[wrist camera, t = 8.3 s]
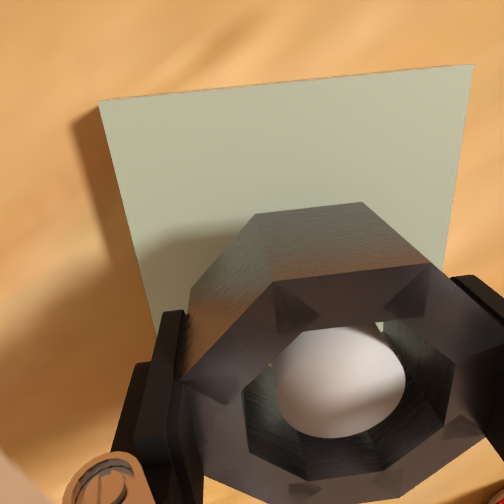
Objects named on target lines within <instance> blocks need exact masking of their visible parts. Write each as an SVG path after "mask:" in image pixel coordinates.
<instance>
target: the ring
mask: <svg viewBox="0 0 504 504" xmlns="http://www.w3.org/2000/svg"><path fill="white" fill-rule="evenodd" d="M377 322H383V331H382V332H381V333H382V335H383V336H384V338H385V339H386V341H387V343H388V344H389V346H390V347H391V349H392V351H393V352H394V354H395V355H396V357H397V358H398V360H399V362H400V363H401V365H402V367H403V370H404V373H405V379H406V380H405V389H404V393H403V396H402V398H401V400H400V402H399V404H398V405H397V406H396V408H395V409H394V410H393V411H392V412H391V413H390V415H388V416H387V417H386V418H385V419H384V420H383V421H381V422H380V423H378V424H377V425H375V426H373V427H372V428H370V429H368V430H365V431H363V432H360V433H358V434H354V435H351V436H346V437H340V438H320V437H314V436H310V435H307V434H304V433H302V432H300V431H298V430H296V429H295V428H293V427H292V426H291V425H290V424H288V422H287V421H286V420H285V419H284V417H283V416H282V414H281V411H280V409H279V404H278V399H277V393H276V388H275V382H274V377H273V371H272V368H271V367H270V366H268V365H269V364H270V363H271V362H272V361H273V360H274V359H275V358H276V357H277V356H278V355H279V354H280V353H281V352H282V351H283V350H284V349H285V348H286V347H287V346H288V345H289V344H291V343H292V342H293V341H294V340H295V339H296V338H297V337H298V336H299V335H300V334H301V333H302V332H305V331H313V330H321V329H329V328H337V327H345V326H353V325H361V324H369V323H377ZM503 372H504V327H503V326H502V325H501V324H499V323H498V322H497V321H496V320H495V319H494V318H493V317H492V316H490V315H489V314H488V313H487V312H486V311H485V310H484V309H483V308H482V307H480V306H479V305H478V304H477V303H476V302H475V301H474V300H473V299H472V298H470V297H469V296H468V295H467V294H466V293H465V292H464V291H463V290H462V289H460V288H459V287H458V286H457V285H456V284H455V283H454V282H453V281H452V280H450V279H449V278H448V277H447V276H446V275H445V274H444V273H443V272H441V271H440V270H439V269H438V268H437V267H436V266H435V265H434V264H433V263H431V262H430V261H429V260H428V259H427V258H426V257H425V256H424V255H422V254H421V253H420V252H419V251H418V250H417V249H416V248H414V247H413V246H412V245H411V244H410V243H409V242H408V241H406V240H405V239H404V238H403V237H402V236H401V235H400V234H399V233H397V232H396V231H395V230H394V229H393V228H392V227H391V226H389V225H388V224H387V223H386V222H385V221H384V220H383V219H381V218H380V217H379V216H378V215H377V214H376V213H375V212H373V211H372V210H371V209H370V208H369V207H368V206H367V205H365V204H364V203H363V202H355V203H346V204H337V205H328V206H320V207H311V208H302V209H293V210H284V211H275V212H266V213H257V214H254V216H253V217H252V218H251V219H250V220H249V221H248V223H247V224H246V225H245V226H244V227H243V228H242V230H241V231H240V232H239V233H238V234H237V235H236V237H235V238H234V239H233V240H232V241H231V242H230V244H229V245H228V246H227V247H226V248H225V249H224V250H223V252H222V253H221V254H220V255H219V256H218V257H217V259H216V260H215V261H214V262H213V263H212V264H211V266H210V267H209V268H208V269H207V270H206V271H205V273H204V274H203V275H202V276H201V277H200V278H199V279H198V281H197V282H196V283H195V284H194V285H193V286H192V288H191V289H190V296H189V304H188V311H187V319H186V327H185V335H184V342H183V350H182V358H181V365H180V373H179V381H178V382H179V383H180V382H183V386H184V390H185V395H186V399H187V403H188V408H189V412H190V417H191V421H192V426H193V430H194V434H195V439H196V443H197V448H198V452H199V456H200V461H201V465H202V470H203V474H204V476H206V477H209V478H211V479H213V480H216V481H218V482H220V483H222V484H225V485H227V486H229V487H232V488H234V489H236V490H238V491H241V492H243V493H245V494H248V495H250V496H252V497H254V498H257V499H259V500H261V501H264V502H266V503H268V504H359V503H366V502H373V501H380V500H387V499H394V498H400V497H401V496H403V495H404V494H405V493H407V492H408V491H410V490H411V489H413V488H414V487H415V486H417V485H418V484H420V483H421V482H422V481H424V480H425V479H427V478H428V477H430V476H431V475H432V474H434V473H435V472H437V471H438V470H439V469H441V468H442V467H444V466H445V465H447V464H448V463H449V462H451V461H452V460H454V459H455V458H456V457H458V456H459V455H461V454H462V453H464V452H465V451H466V450H468V449H469V448H471V447H472V446H473V445H475V444H476V443H478V442H479V441H481V440H482V439H483V438H485V437H486V435H487V431H488V427H489V423H490V420H491V416H492V412H493V409H494V405H495V401H496V398H497V394H498V390H499V387H500V383H501V379H502V375H503Z"/></svg>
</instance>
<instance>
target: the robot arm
mask: <svg viewBox="0 0 504 504" xmlns="http://www.w3.org/2000/svg"><path fill="white" fill-rule="evenodd" d="M450 280H452V281H453V282H454V283H455V284H456V285H457V286H458V287H459V288H460V289H462V290H463V291H464V292H465V293H466V294H467V295H468V296H469V297H470V298H472V299H473V300H474V301H475V302H476V303H477V304H478V305H479V306H480V307H482V308H483V309H484V310H485V311H486V312H487V313H488V314H489V315H490V316H492V317H493V318H494V319H495V320H496V321H497V322H498V323H499V324H501V325H502V326H503V327H504V298H503V297H502V296H500V295H499V294H498V293H497V292H495V291H494V290H493V289H491V288H490V287H489V286H488V285H486V284H485V283H484V282H483V281H481V280H480V279H479V278H477V277H476V276H474V275H464V276H456V277H451V278H450ZM186 319H187V314H185V312H184V310H183V309H181V310H173V311H165V312H163V314H162V317H161V322H160V326H159V330H158V334H157V339H156V343H155V347H154V352H153V356H152V360H151V361H150V362H142V363H137V364H136V365H135V368H134V370H133V374H132V377H131V381H130V384H129V388H128V391H127V395H126V398H125V402H124V405H123V409H122V412H121V416H120V419H119V423H118V426H117V430H116V433H115V437H114V440H113V444H112V447H111V451H110V452H109V453H105V454H103V455H100V456H98V457H95V458H94V459H92V460H91V461H89V462H88V463H86V464H85V465H84V466H83V467H82V468H81V469H80V470H79V471H78V472H77V473H76V474H75V475H74V476H73V478H72V479H71V481H70V482H69V484H68V485H67V488H66V490H65V493H64V496H63V501H62V504H203V484H204V474H203V470H202V465H201V461H200V456H199V452H198V448H197V443H196V439H195V434H194V430H193V426H192V421H191V417H190V412H189V408H188V403H187V399H186V395H185V390H184V386H183V382H180V383H179V382H178V381H179V373H180V365H181V358H182V350H183V342H184V335H185V327H186ZM486 438H487V439H488V441H489V442H490V443H491V445H492V446H493V447H494V449H495V450H496V452H497V453H498V454H499V456H500V457H501V458H502V460H503V461H504V372H503V375H502V379H501V383H500V387H499V390H498V394H497V398H496V401H495V405H494V409H493V412H492V416H491V420H490V423H489V427H488V431H487V435H486Z"/></svg>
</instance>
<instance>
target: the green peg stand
mask: <svg viewBox="0 0 504 504" xmlns="http://www.w3.org/2000/svg"><path fill="white" fill-rule="evenodd" d="M473 68H474V64H467V65H447V66H437V67H427V68H417V69H407V70H397V71H387V72H377V73H367V74H357V75H347V76H336V77H326V78H316V79H306V80H296V81H286V82H276V83H266V84H256V85H246V86H236V87H226V88H216V89H206V90H196V91H185V92H175V93H165V94H155V95H145V96H135V97H125V98H115V99H107V100H103V101H98V106H99V110H100V114H101V118H102V122H103V126H104V130H105V134H106V138H107V142H108V146H109V150H110V154H111V158H112V162H113V166H114V170H115V174H116V178H117V182H118V186H119V190H120V194H121V198H122V202H123V206H124V210H125V214H126V218H127V222H128V226H129V230H130V233H131V237H132V241H133V245H134V249H135V253H136V257H137V261H138V265H139V269H140V273H141V277H142V281H143V285H144V289H145V293H146V297H147V301H148V305H149V309H150V313H151V317H152V321H153V325H154V329H155V333H156V337H157V334H158V330H159V326H160V322H161V317H162V314H163V312H165V311H173V310H181V309H183V310H184V312H185V314H187V311H188V304H189V296H190V289H191V288H192V286H193V285H194V284H195V283H196V282H197V281H198V279H199V278H200V277H201V276H202V275H203V274H204V273H205V271H206V270H207V269H208V268H209V267H210V266H211V264H212V263H213V262H214V261H215V260H216V259H217V257H218V256H219V255H220V254H221V253H222V252H223V250H224V249H225V248H226V247H227V246H228V245H229V244H230V242H231V241H232V240H233V239H234V238H235V237H236V235H237V234H238V233H239V232H240V231H241V230H242V228H243V227H244V226H245V225H246V224H247V223H248V221H249V220H250V219H251V218H252V217H253V216H254V214H257V213H266V212H275V211H284V210H293V209H302V208H311V207H320V206H328V205H337V204H346V203H355V202H363V203H364V204H365V205H367V206H368V207H369V208H370V209H371V210H372V211H373V212H375V213H376V214H377V215H378V216H379V217H380V218H381V219H383V220H384V221H385V222H386V223H387V224H388V225H389V226H391V227H392V228H393V229H394V230H395V231H396V232H397V233H399V234H400V235H401V236H402V237H403V238H404V239H405V240H406V241H408V242H409V243H410V244H411V245H412V246H413V247H414V248H416V249H417V250H418V251H419V252H420V253H421V254H422V255H424V256H425V257H426V258H427V259H428V260H429V261H430V262H431V263H433V264H434V265H435V266H436V267H437V268H438V269H439V270H440V271H441V272H442V269H443V262H444V256H445V249H446V243H447V236H448V230H449V223H450V217H451V210H452V204H453V197H454V191H455V184H456V178H457V171H458V165H459V158H460V152H461V145H462V139H463V132H464V126H465V120H466V113H467V107H468V100H469V94H470V87H471V81H472V74H473ZM382 331H383V322H377V323H369V324H361V325H353V326H345V327H337V328H329V329H321V330H313V331H305V332H302V333H301V334H300V335H299V336H298V337H297V338H296V339H295V340H294V341H293V342H292V343H291V344H289V345H288V346H287V347H286V348H285V349H284V350H283V351H282V352H281V353H280V354H279V355H278V356H277V357H276V358H275V359H274V360H273V361H272V362H271V363H270V364H269V365H268V366H270V367H271V368H272V371H273V377H274V382H275V388H276V393H277V399H278V404H279V409H280V411H281V414H282V416H283V417H284V419H285V420H286V421H287V422H288V424H290V425H291V426H292V427H293V428H295V429H296V430H298V431H300V432H302V433H304V434H307V435H310V436H314V437H320V438H340V437H346V436H351V435H354V434H358V433H360V432H363V431H365V430H368V429H370V428H372V427H373V426H375V425H377V424H378V423H380V422H381V421H383V420H384V419H385V418H386V417H387V416H388V415H390V413H391V412H392V411H393V410H394V409H395V408H396V406H397V405H398V404H399V402H400V400H401V398H402V396H403V393H404V389H405V380H406V379H405V373H404V370H403V367H402V365H401V363H400V362H399V360H398V358H397V357H396V355H395V354H394V352H393V351H392V349H391V347H390V346H389V344H388V343H387V341H386V339H385V338H384V336H383V335H382V333H381V332H382Z"/></svg>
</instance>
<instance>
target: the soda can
mask: <svg viewBox="0 0 504 504" xmlns="http://www.w3.org/2000/svg"><path fill="white" fill-rule="evenodd" d="M488 504H504V489H502V490H501V491H499V492H498V493H497V494H496V495H495V496H493V497H492V498H491V500H490V501H489V502H488Z"/></svg>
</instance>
